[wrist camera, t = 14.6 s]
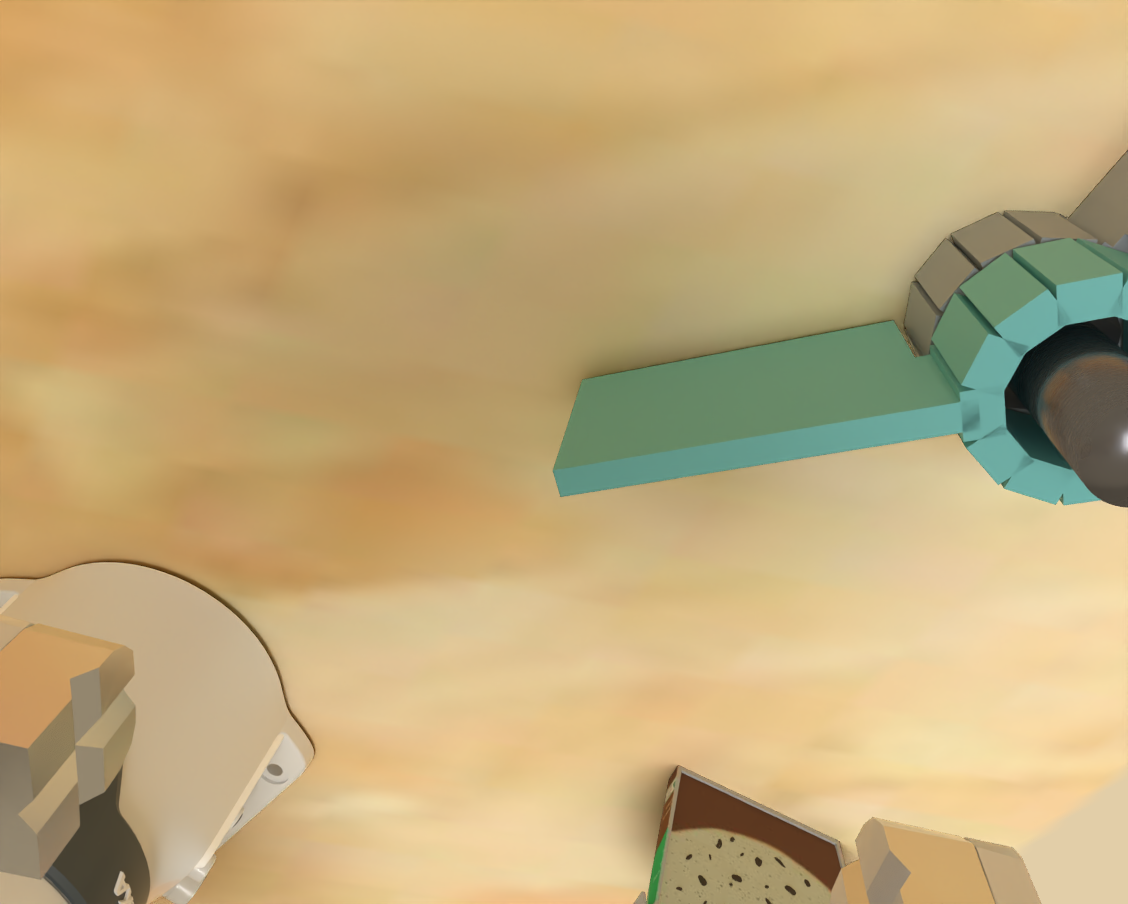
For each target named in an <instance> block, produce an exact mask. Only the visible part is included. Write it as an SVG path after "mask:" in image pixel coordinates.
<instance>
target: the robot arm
mask: <svg viewBox="0 0 1128 904" xmlns="http://www.w3.org/2000/svg"><path fill="white" fill-rule="evenodd" d="M313 757H314V750H313V747H312V745H311V743H310V741H309V739H308V738H307V736H306V735H305V733H304V732H303V731H302V729H301V728H300V727H299V725H298V724H297V723H296V721H295V720H294V719H293V718H292V716H291V715H290V713H289V711H288V709H287V706H286V703H285V700H284V695H283V691H282V687H281V683H280V680H279V677H278V674H277V672H276V669H275V667H274V665H273V663H272V661H271V659H270V657H269V655H268V654H267V652H266V650H265V649H264V647H263V646H262V644H261V643H260V641H259V640H258V639H257V638H256V636H255V635H254V634H253V633H252V631H251V630H250V629H249V628H248V627H247V626H246V625H245V624H244V623H243V622H242V621H241V620H240V619H239V618H238V617H237V616H236V615H235V614H234V613H233V612H232V611H231V610H229V609H228V608H227V607H226V606H224V605H223V604H222V603H220V602H219V601H218V600H216V599H215V598H214V597H212V596H210V595H209V594H207V593H206V592H204V591H203V590H201V589H199V588H197V587H196V586H194V585H192V584H190V583H188V582H186V581H184V580H182V579H179V578H177V577H175V576H172V575H170V574H167V573H164V572H161V571H158V570H155V569H152V568H148V567H144V566H139V565H134V564H127V563H116V562H99V563H89V564H83V565H79V566H74V567H71V568H68V569H66V570H63V571H61V572H58V573H56V574H54V575H51V576H49V577H45V578H42V579H37V580H32V579H13V578H7V579H0V904H150V903H152V902H153V901H154V900H156V899H157V898H159V897H160V896H162V897H165V898H166V899H167V900H169V901H171V902H172V903H174V904H187V903H188V902H189V901H190V899H191V898H192V897H193V896H194V894H195V893H196V892H197V890H198V889H199V887H200V886H201V884H202V883H203V881H204V879H205V878H206V876H207V874H208V872H209V870H210V869H211V867H212V866H213V864H214V862H215V861H216V858H217V856H216V855H215V854H214V853H215V851H217V850H218V849H219V848H220V847H221V846H222V845H223V844H224V843H226V842H227V841H228V840H229V839H230V838H231V837H232V836H233V835H234V834H236V833H237V832H238V831H239V830H240V829H241V828H242V827H243V826H245V825H246V824H247V823H248V822H249V821H250V820H251V819H252V818H254V817H255V816H256V815H257V814H258V813H259V812H260V811H261V810H263V809H264V808H265V807H266V806H267V805H268V804H269V803H270V802H271V801H273V800H274V799H275V798H276V797H277V796H278V795H279V794H280V793H282V792H283V791H284V790H285V789H286V788H287V787H288V786H289V785H291V784H292V783H293V782H294V781H295V780H296V779H297V778H298V777H300V776H301V775H302V774H303V772H304V771H305V770H306V768H307V767H308V765H309V764H310V763H311V761H312V759H313ZM855 841H856V846H857V851H858V856H859V860H857V861H855V862H853V863H851V864H849V865H847V866H845V867H843V868H841V870H840V873H839V875H838V877H837V879H836V882H835V884H834V886H833V888H832V892H831V897H830V903H829V904H1041V902H1040V899H1039V897H1038V895H1037V892H1036V890H1035V887H1034V885H1033V882H1032V880H1031V878H1030V875H1029V873H1028V871H1027V868H1026V866H1025V864H1024V861H1023V859H1022V857H1021V856H1020V855H1019V854H1018V853H1017V852H1016V851H1015V849H1014V848H1012V847H1008V846H1003V845H999V844H994V843H989V842H985V841H980V840H976V839H971V838H962V837H960V836H957V835H952V834H947V833H943V832H938V831H934V830H929V829H925V828H920V827H916V826H911V825H907V824H902V823H897V822H893V821H888V820H884V819H879V818H875V817H872V818H871V819H870V820H869V821H867V822H866V823H865V824H864V825H863V827H862V829H861V831H860V833H859V834H858V836H857V838H856V840H855Z"/></svg>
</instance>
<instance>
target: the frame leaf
mask: <svg viewBox="0 0 1128 904" xmlns="http://www.w3.org/2000/svg"><path fill="white" fill-rule="evenodd" d="M951 235H952V238H953V240H954V243H955V244H953V243H952V242H950V241H949V240H947V239H946V238H945V239H944V241H943V242H942V243H941V244H940V245H939V247H938V248H937V249H936V250H935V252H934V253H933V254H932V255H931V256H930V258H929V259H928V260H927V261H926V263H925V264H924V265H923V266H922V267H921V269H920V270H919V271H918V272H917V274H916V275H915V277H916V279H917V280H918V281H919V282H912V284H911V289H910V294H909V300H908V305H907V311H906V316H905V322H904V325H905V327H906V330H905V332H906V334H907V337H908V339H909V341H910V344H911V346H912V348H913V351H914V353H915V355H916V357H919V356H925V355H930V354H931V353H930V345H935V344H934V343H933V341H932V340H931V338H932V336H933V334H934V332H935V330H936V328H937V326H938V324H939V322H940V320H941V318H942V316H943V314H944V312H945V310H946V308H947V306H948V304H949V302H950V300H951V298H952V296H953V294H954V293H956V294H960V295H963V296H966V295H965V294H964V292H963V291H962V290H961V289H960V288H959V287H960V286H961V285H962V284H964V283H965V282H966V281H968V280H969V279H971V278H972V277H973V276H975V275H976V274H977V273H979V272H980V271H981V270H983V269H984V268H985V267H987V266H988V265H989V264H991V263H992V262H993V261H995V260H996V259H997V258H999V257H1000V256H1001V255H1003V254H1004V253H1006V254H1008V255H1009V256H1010V257H1011V258H1012V259H1013V249H1016V248H1021V247H1026V246H1031V245H1036V244H1041V243H1046V242H1051V241H1056V240H1061V239H1066V238H1071V239H1073V240H1074V241H1076V240H1077V239H1078V238H1080V239H1083V240H1086V241H1089V242H1093V243H1096V244H1099V245H1102V246H1105V247H1109V248H1112V249H1115V250H1118V251H1122V252H1125V253H1128V151H1127V152H1126V153H1125V154H1124V155H1123V157H1122V158H1121V159H1120V160H1119V161H1118V162H1117V163H1116V165H1115V166H1114V167H1113V168H1112V169H1111V170H1110V171H1109V172H1108V174H1107V175H1106V176H1105V177H1104V178H1103V179H1102V180H1101V182H1100V183H1099V184H1098V185H1097V186H1096V187H1095V188H1094V190H1093V191H1092V192H1091V193H1090V194H1089V195H1088V196H1087V198H1086V199H1085V200H1084V201H1083V202H1082V203H1081V204H1080V206H1079V207H1078V208H1077V209H1076V210H1075V211H1074V212H1073V213H1072V215H1071V216H1070V217H1069V218H1068V219H1067V218H1066V217H1064V216H1062V215H1061V214H1060V215H1058V214H1056V213H1054V212H1030V211H1004V216H1002V215H1001V214H1000V213H998V212H997V213H995V214H993V215H990V216H988V217H986V218H984V219H982V220H980V221H978V222H975V223H973V224H971V225H969V226H967V227H965V228H962V229H960V230H958V231H956V232H954V233H952V234H951ZM966 297H967V296H966ZM1090 322H1091V323H1093V324H1094V325H1095V326H1096V327H1097V328H1098V329H1100V330H1101V331H1102V332H1103V333H1104V334H1105V335H1107V336H1108V337H1109V338H1110V339H1111V340H1112V341H1114V342H1115V343H1116V344H1117V345H1118V346H1119V347H1121V348H1122V349H1123V319H1122V318H1119V317H1115V316H1113V317H1108V318H1102V319H1097V320H1091V321H1090ZM1004 398H1005V408H1007V409H1011V410H1014V411H1017V412H1020V413H1023V414H1027V415H1031V414H1030V413H1029V412H1028V410H1027V409H1026V408H1025V406H1024V405H1023V404H1022V403H1021V401H1020V400H1019V399H1018V397H1017V396H1016V395H1015V393H1014V392H1013V391H1012V390H1011V388H1010V387H1009V386H1008V385H1007V387H1006V389H1005V390H1004Z"/></svg>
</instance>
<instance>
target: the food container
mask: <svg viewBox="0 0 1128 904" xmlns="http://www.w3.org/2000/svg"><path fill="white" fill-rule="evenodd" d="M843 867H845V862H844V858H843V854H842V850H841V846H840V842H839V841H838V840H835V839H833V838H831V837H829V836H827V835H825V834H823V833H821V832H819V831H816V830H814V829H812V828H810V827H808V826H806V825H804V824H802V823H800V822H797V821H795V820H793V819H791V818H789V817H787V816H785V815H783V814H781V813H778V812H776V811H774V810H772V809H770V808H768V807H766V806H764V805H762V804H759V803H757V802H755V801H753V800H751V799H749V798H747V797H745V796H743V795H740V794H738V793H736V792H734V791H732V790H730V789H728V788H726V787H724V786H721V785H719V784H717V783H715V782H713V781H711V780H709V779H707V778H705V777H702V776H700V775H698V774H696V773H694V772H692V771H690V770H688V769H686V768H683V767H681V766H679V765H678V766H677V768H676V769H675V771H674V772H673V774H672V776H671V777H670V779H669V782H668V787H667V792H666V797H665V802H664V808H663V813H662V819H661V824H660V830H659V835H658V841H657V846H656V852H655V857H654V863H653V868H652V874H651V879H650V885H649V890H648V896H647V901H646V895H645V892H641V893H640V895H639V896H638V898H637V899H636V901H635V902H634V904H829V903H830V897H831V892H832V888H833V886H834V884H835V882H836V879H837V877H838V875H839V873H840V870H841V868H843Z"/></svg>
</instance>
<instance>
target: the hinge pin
mask: <svg viewBox="0 0 1128 904" xmlns="http://www.w3.org/2000/svg"><path fill="white" fill-rule="evenodd" d="M1008 386H1009V387H1010V388H1011V390H1012V391H1013V392H1014V393H1015V395H1016V396H1017V397H1018V399H1019V400H1020V401H1021V403H1022V404H1023V405H1024V406H1025V408H1026V409H1027V410H1028V412H1029V413H1030V414H1031V416H1032V417H1033V418H1034V420H1035V421H1036V422H1037V423H1038V425H1039V426H1040V427H1041V429H1042V430H1043V431H1044V433H1045V434H1046V435H1047V436H1048V438H1049V439H1050V440H1051V442H1052V443H1053V444H1054V446H1055V447H1056V448H1057V450H1058V451H1059V452H1060V453H1061V455H1062V456H1063V457H1064V459H1065V460H1066V461H1067V463H1068V464H1069V465H1070V466H1071V468H1072V469H1073V470H1074V472H1075V473H1076V474H1077V476H1078V477H1079V478H1080V480H1081V481H1082V482H1083V483H1084V485H1085V486H1086V487H1087V489H1088V490H1089V491H1090V492H1091V493H1092V494H1093V495H1095V496H1096V497H1097V498H1099V499H1100V500H1102V501H1104V502H1106V503H1109V504H1112V505H1115V506H1120V507H1128V353H1126V352H1125V351H1124V350H1123V349H1122V348H1121V347H1119V346H1118V345H1117V344H1116V343H1115V342H1114V341H1112V340H1111V339H1110V338H1109V337H1108V336H1107V335H1105V334H1104V333H1103V332H1102V331H1101V330H1100V329H1098V328H1097V327H1096V326H1095V325H1094V324H1093V323H1091V322H1090V321H1086V322H1080V323H1075V324H1069V325H1065V326H1064V327H1062V328H1061V329H1059V330H1058V331H1057V332H1055V333H1054V334H1052V335H1051V336H1049V337H1048V338H1046V339H1045V340H1043V341H1042V342H1041V343H1039V344H1038V345H1036V346H1035V347H1033V348H1032V349H1030V350H1029V351H1028V352H1026V353H1025V355H1024V356H1023V358H1022V360H1021V362H1020V364H1019V365H1018V367H1017V369H1016V371H1015V372H1014V374H1013V376H1012V378H1011V380H1010V381H1009V383H1008Z"/></svg>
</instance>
